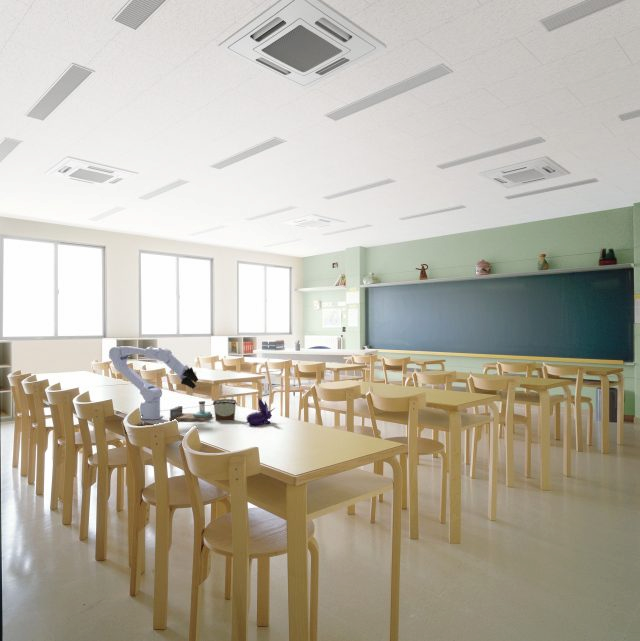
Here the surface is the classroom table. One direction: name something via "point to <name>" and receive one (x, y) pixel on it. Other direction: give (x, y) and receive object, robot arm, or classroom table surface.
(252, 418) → the creature
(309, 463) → the classroom table surface
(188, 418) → the bench base
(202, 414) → the teal plate with post
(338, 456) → the classroom table surface
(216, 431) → the classroom table surface
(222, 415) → the food container
